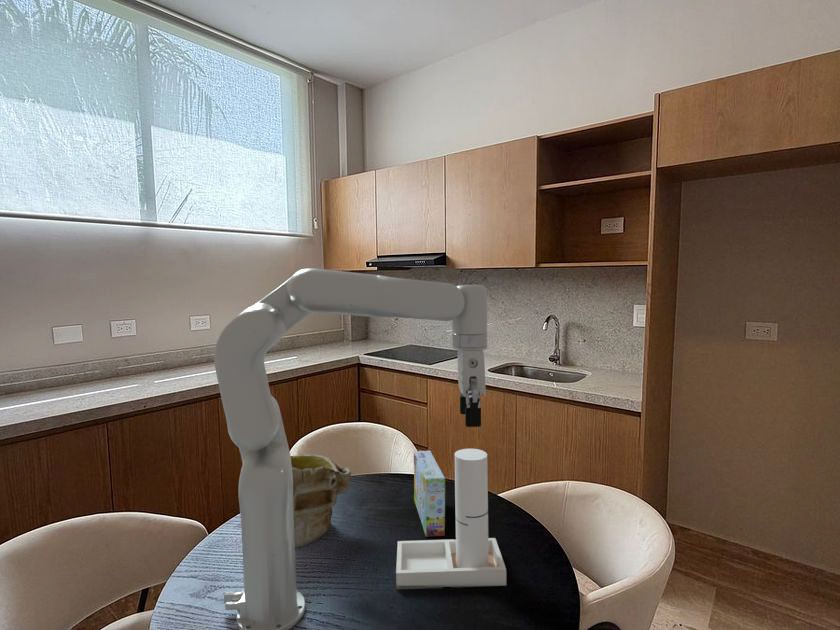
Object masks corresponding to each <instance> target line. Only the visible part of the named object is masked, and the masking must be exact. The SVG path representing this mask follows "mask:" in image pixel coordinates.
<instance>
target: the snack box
mask: <svg viewBox="0 0 840 630" xmlns="http://www.w3.org/2000/svg"><path fill="white" fill-rule="evenodd" d="M413 476H414V477H413V501H414V504H415V507H416V509H417V514H418V516H419V519H420V522H421V526H422V529H423V532H424V535H425V537H426V538H427V537H428V538H429V537H443V536H446V534H445V533H446V530H445V529H446V477H445V476H444V474H443V472H442V471H441V468H440V467H439V465H438V463H437V461H436V459H435V457H434V455H433V454H432V451H431V450H419V451H413Z"/></svg>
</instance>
